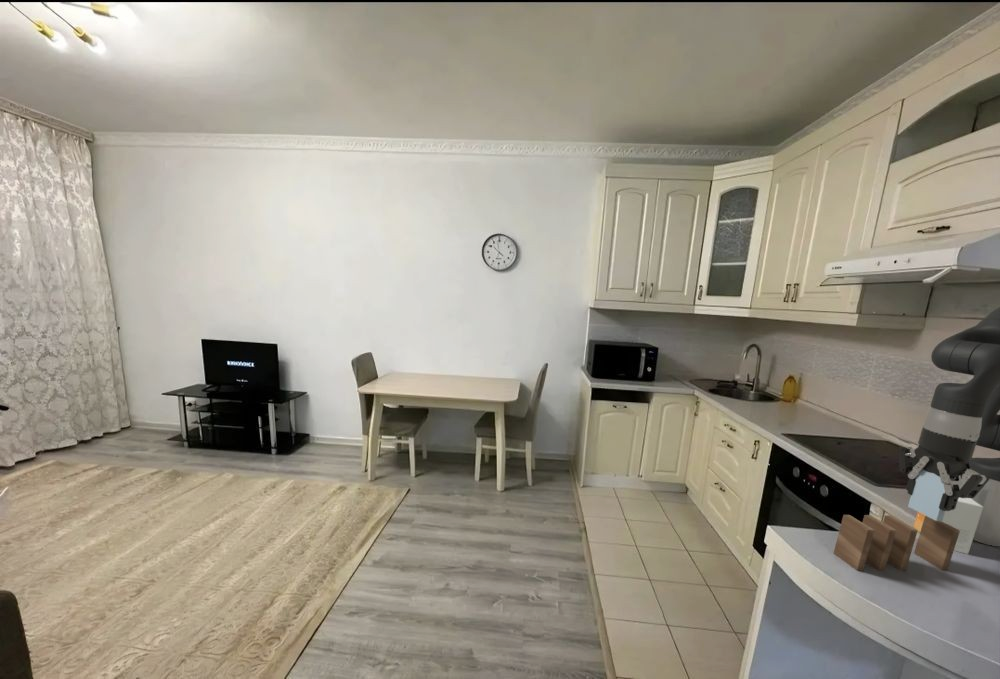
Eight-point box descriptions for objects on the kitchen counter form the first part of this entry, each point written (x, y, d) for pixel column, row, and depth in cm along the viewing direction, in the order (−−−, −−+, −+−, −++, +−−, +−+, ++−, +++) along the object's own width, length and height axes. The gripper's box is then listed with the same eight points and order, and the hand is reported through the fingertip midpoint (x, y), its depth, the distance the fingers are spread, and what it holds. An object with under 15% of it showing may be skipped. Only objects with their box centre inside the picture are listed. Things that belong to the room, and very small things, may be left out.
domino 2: (859, 553, 83) (870, 515, 82) (884, 570, 78) (896, 530, 77) (853, 553, 83) (864, 515, 81) (878, 570, 78) (889, 530, 76)
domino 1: (839, 553, 82) (849, 514, 81) (863, 570, 78) (874, 529, 76) (833, 553, 82) (843, 514, 81) (856, 570, 77) (867, 529, 76)
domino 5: (919, 553, 85) (930, 515, 83) (947, 569, 80) (960, 530, 78) (913, 553, 85) (925, 515, 83) (941, 569, 80) (954, 530, 78)
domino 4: (913, 506, 82) (925, 467, 81) (942, 520, 77) (955, 479, 76) (907, 506, 82) (919, 467, 81) (936, 520, 77) (948, 479, 76)
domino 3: (880, 553, 84) (890, 515, 82) (905, 570, 79) (917, 530, 77) (874, 553, 84) (884, 515, 82) (899, 570, 79) (911, 530, 77)
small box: (912, 526, 96) (925, 482, 94) (945, 535, 93) (959, 490, 91) (933, 545, 88) (947, 498, 86) (969, 555, 86) (985, 506, 84)
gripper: (895, 418, 83) (877, 483, 86) (982, 445, 69) (958, 523, 72) (922, 419, 84) (903, 484, 87) (1014, 447, 70) (988, 523, 73)
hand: (928, 501), depth 79 cm, fingers closed on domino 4, 5 cm apart
